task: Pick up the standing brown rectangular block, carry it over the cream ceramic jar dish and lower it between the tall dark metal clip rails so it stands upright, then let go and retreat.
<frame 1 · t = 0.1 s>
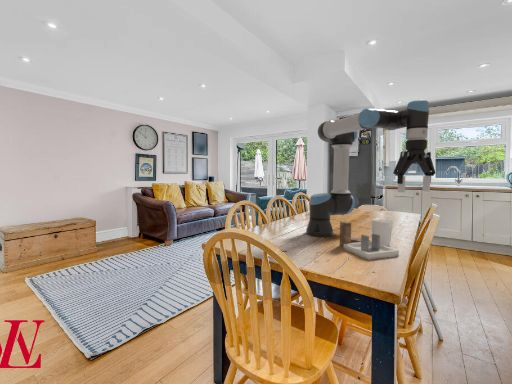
hand: (413, 191, 108), 28 cm above the table, fingers open, 13 cm apart
candle holder: (380, 244, 132), on the table
brown rectangular block: (344, 246, 126), on the table
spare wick: (356, 243, 133), on the table
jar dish: (369, 252, 117), on the table
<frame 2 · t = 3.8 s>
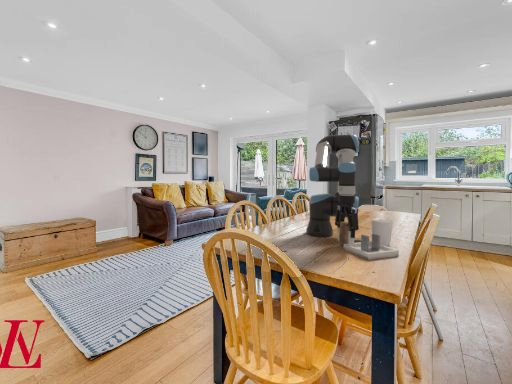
hand: (345, 242, 125), 2 cm above the table, fingers open, 7 cm apart
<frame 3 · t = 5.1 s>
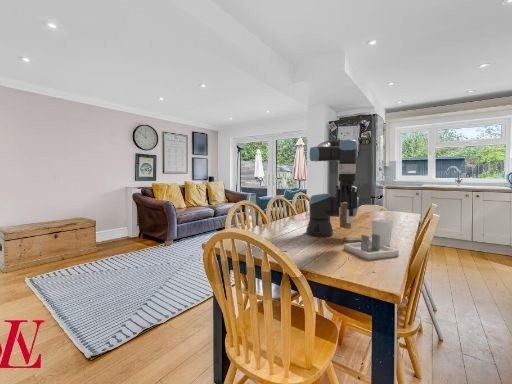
hand: (345, 221, 126), 12 cm above the table, fingers closed on brown rectangular block, 5 cm apart
brown rectangular block: (345, 227, 126), point 9 cm above the table, touching gripper
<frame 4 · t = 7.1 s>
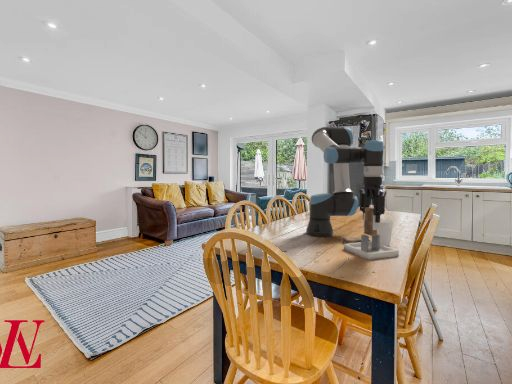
hand: (370, 228, 117), 11 cm above the table, fingers closed on brown rectangular block, 5 cm apart
brown rectangular block: (370, 234, 117), point 8 cm above the table, touching gripper
when the fingers open (4 cm above the table, at t = 9.2 s): brown rectangular block stays where it is, resting on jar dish.
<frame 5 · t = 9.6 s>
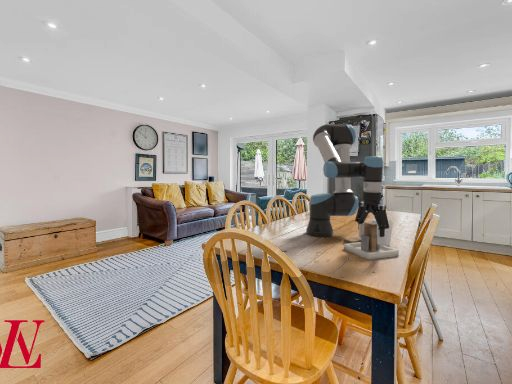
hand: (370, 240, 117), 5 cm above the table, fingers open, 10 cm apart
brown rectangular block: (369, 249, 117), point 1 cm above the table, touching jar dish
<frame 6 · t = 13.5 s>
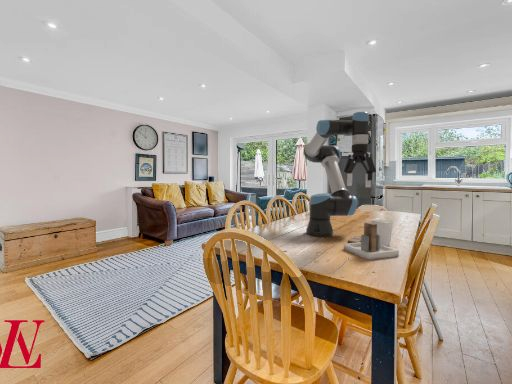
hand: (358, 186, 132), 29 cm above the table, fingers open, 13 cm apart
at the end: brown rectangular block 0.2 cm off-centre on the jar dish, point 1.3 cm above the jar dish's base; brown rectangular block tilted 0°; the gripper is holding nothing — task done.
